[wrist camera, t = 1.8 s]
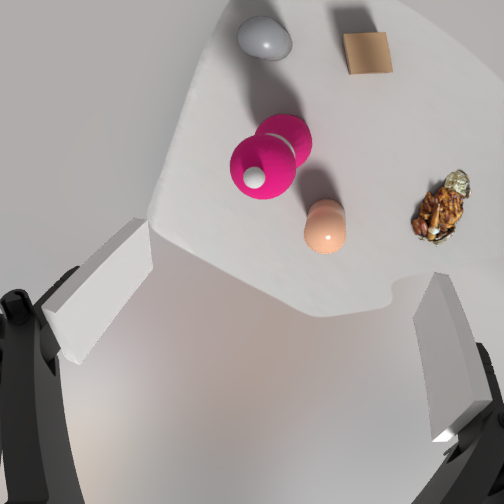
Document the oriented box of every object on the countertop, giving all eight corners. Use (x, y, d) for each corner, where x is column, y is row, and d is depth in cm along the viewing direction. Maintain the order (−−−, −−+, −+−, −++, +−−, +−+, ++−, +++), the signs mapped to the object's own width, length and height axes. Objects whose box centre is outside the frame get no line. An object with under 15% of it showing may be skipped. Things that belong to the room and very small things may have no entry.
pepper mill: (287, 100, 38) (249, 117, 22) (325, 138, 40) (316, 185, 23) (251, 135, 42) (192, 179, 26) (287, 171, 44) (253, 238, 27)
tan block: (379, 37, 30) (385, 32, 26) (386, 72, 33) (392, 71, 29) (342, 39, 32) (343, 33, 28) (349, 74, 34) (351, 73, 30)
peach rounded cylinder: (348, 202, 44) (349, 220, 39) (341, 236, 47) (341, 257, 42) (310, 195, 45) (307, 212, 40) (305, 229, 48) (301, 249, 43)
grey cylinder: (293, 28, 33) (284, 17, 26) (290, 62, 35) (281, 58, 29) (256, 26, 34) (238, 16, 27) (253, 59, 36) (236, 56, 30)
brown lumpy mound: (476, 181, 36) (484, 190, 33) (440, 245, 43) (446, 257, 40) (440, 160, 37) (447, 167, 34) (406, 228, 43) (410, 239, 41)
